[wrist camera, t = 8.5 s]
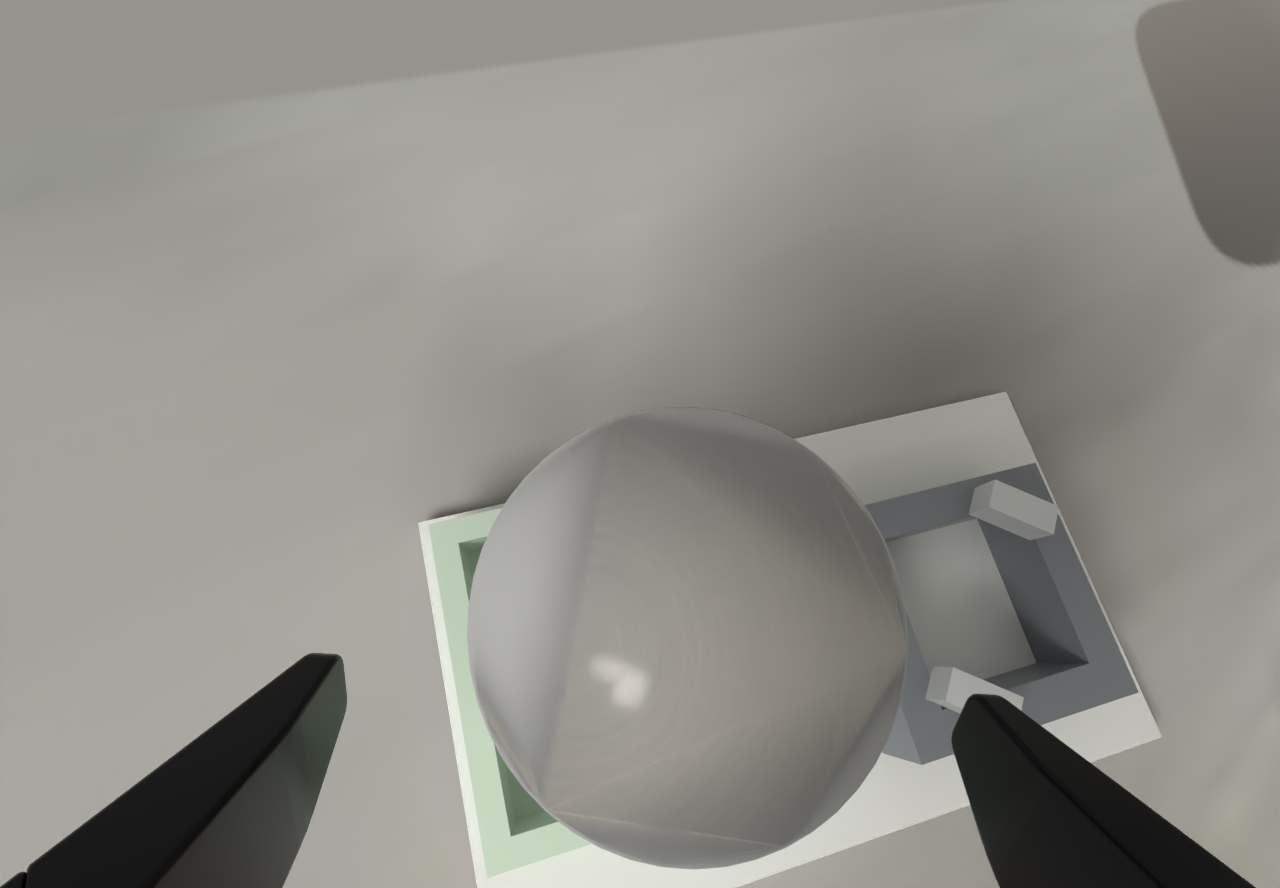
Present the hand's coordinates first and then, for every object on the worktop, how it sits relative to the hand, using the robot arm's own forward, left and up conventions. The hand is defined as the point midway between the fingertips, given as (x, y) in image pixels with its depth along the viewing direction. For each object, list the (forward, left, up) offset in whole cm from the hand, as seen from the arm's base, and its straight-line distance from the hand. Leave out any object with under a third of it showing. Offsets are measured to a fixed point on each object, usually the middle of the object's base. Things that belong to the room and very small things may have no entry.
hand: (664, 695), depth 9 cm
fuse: (0, +1, -10) cm, 10 cm away
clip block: (+11, -1, -11) cm, 15 cm away
